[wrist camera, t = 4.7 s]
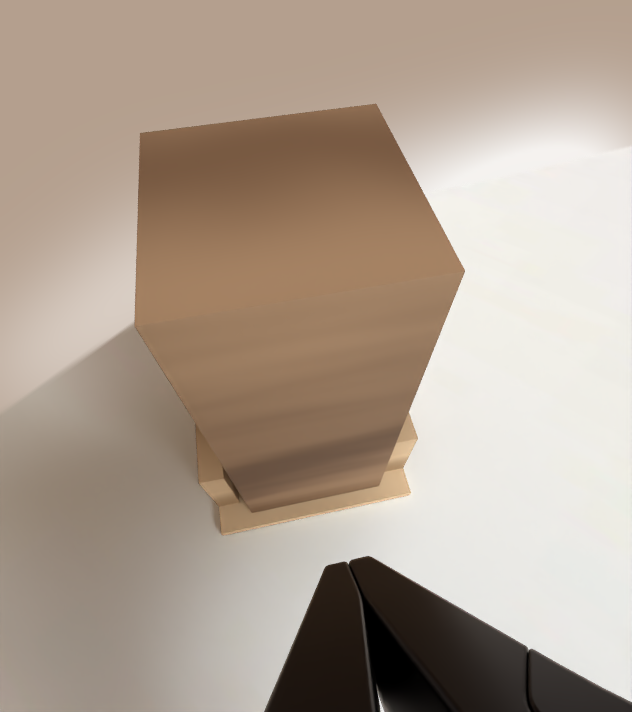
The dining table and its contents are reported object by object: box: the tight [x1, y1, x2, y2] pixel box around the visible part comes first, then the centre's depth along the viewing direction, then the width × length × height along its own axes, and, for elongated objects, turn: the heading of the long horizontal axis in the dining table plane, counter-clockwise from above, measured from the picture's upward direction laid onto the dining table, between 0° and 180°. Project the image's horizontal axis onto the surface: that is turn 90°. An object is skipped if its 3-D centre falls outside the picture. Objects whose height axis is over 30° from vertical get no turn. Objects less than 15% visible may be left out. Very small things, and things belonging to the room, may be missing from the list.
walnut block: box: [135, 104, 465, 513], centre depth 13 cm, size 5×5×12 cm
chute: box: [195, 412, 418, 536], centre depth 18 cm, size 9×7×4 cm
